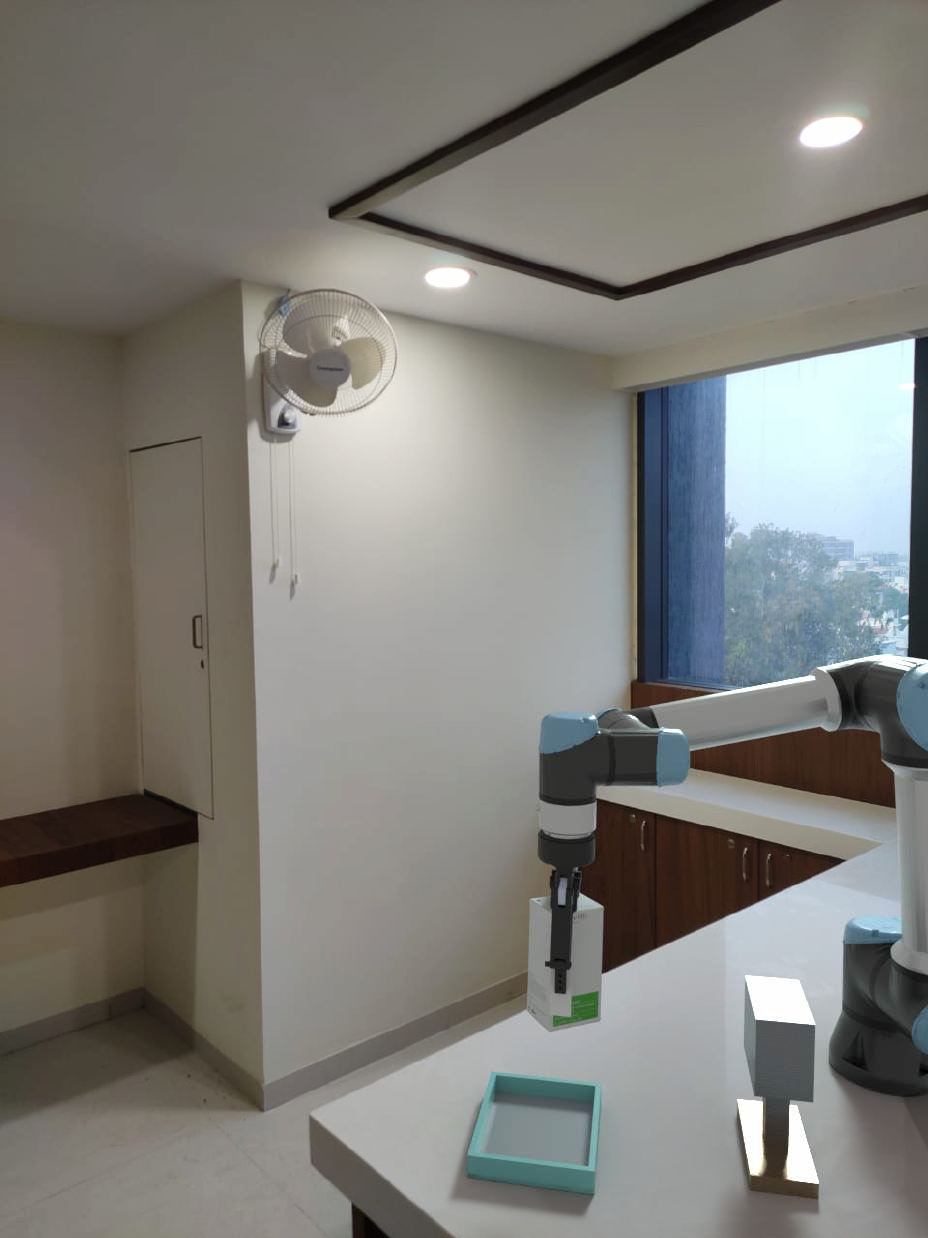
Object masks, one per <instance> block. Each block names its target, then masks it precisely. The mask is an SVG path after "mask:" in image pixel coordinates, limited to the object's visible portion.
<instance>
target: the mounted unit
mask: <svg viewBox="0 0 928 1238" xmlns="http://www.w3.org/2000/svg"><path fill="white" fill-rule="evenodd" d="M743 1014H744V1016H743V1021H744V1022H743V1048H744V1053H745V1057H746V1062H747V1066H748V1071H749V1076H750V1081H751V1086H752V1090H753V1091H752V1092H753V1096H754V1097H758V1098H762V1099H761V1100H762V1101H758V1100H747V1099H739V1098H738V1099H737V1102H736V1103H737V1105H736V1106H737V1107H736V1114H737V1120H738V1125H739V1132H740V1137H741V1143H742V1148H743V1155H744V1159H745V1167H746V1172H747V1173H746V1174H747V1177H748V1183H749V1189H750V1191H754V1192H761V1193H769V1194H775V1195H784V1196H792V1197H793V1196H794V1197H798V1198H799V1197H800V1198H808V1199H813V1200H814V1199H816V1200H819V1198H820V1197H819V1195H820V1191H819V1190H820V1189H819V1188H820V1184H819V1179H818V1176H817V1171H816V1168H815V1164H814V1161H813V1158H812V1154H811V1151H810V1147H809V1144H808V1141H807V1137H806V1133H805V1130H804V1125H803V1122H802V1120H801V1115H800V1113H799V1109H798V1106H797V1105H794V1104H791V1101H795V1102H805V1103H812V1104H813V1103H814V1093H815V1090H814V1089H815V1088H814V1087H815V1055H816V1054H815V1051H816V1050H815V1048H816V1047H815V1046H816V1023H815V1020H814V1018H813V1014H812V1012H811V1010H810V1007H809V1003H808V1001H807V999H806V997H805V993H804V990H803V988H802V985H801V982H800V979H791V978H781V977H780V978H779V977H767V976H756V975H744V1013H743Z"/></svg>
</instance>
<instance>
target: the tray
mask: <svg viewBox="0 0 928 1238" xmlns="http://www.w3.org/2000/svg"><path fill="white" fill-rule="evenodd" d="M601 1111H602V1083H601V1082H600V1083H599V1082H592V1081H583V1080H573V1079H564V1078H555V1077H554V1078H553V1077H546V1076H538V1075H527V1074H518V1073H510V1072H499V1071H491V1072H490V1076H489V1079H488V1083H487V1086H486V1089H485V1093H484V1097H483V1100H482V1103H481V1107H480V1111H479V1114H478V1116H477V1117H478V1118H477V1120H476V1123H475V1127H474V1131H473V1135H472V1138H471V1141H470V1144H469V1148H468V1151H467V1154H466V1174H467V1175H466V1176H467V1177H466V1178H467V1179H473V1180H474V1179H475V1180H481V1181H489V1182H498V1183H505V1184H512V1185H520V1186H526V1187H533V1188H540V1189H541V1188H542V1189H550V1190H555V1191H556V1190H557V1191H564V1192H571V1193H580V1194H586V1195H587V1194H588V1195H595V1190H596V1176H597V1166H598V1165H597V1164H598V1151H599V1150H598V1149H599V1138H600V1137H599V1136H600V1125H601V1114H602V1112H601Z"/></svg>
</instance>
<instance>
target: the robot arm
mask: <svg viewBox="0 0 928 1238" xmlns="http://www.w3.org/2000/svg"><path fill="white" fill-rule="evenodd" d="M819 727H820V728H821V729H823V730H825V731H827V732H830V733H831V732H837V731H841V730H852V729H853V730H864V731H870V732H875V733H877V734H879V737H880V753H881V754H880V755H881V762H883V763H884V764H885V765H886V766H887V767H888V768H889V769H891V771H893V774H894V795H895V797H894V798H895V818H896V821H895V822H896V835H897V836H896V838H897V842H896V843H897V859H898V881H899V901H900V902H899V903H900V907H899V908H900V917H898V916H890V915H874V914H873V915H860V916H857V917H853V918H851V919H849V920H848V921H846V924H845V926H844V932H843V939H842V944H843V950H842V951H843V953H842V954H843V955H842V956H843V957H842V992H841V993H842V994H841V996H842V997H841V998H842V1002H841V1003H842V1004H841V1012H840V1015H839V1016H838V1019H837V1021H836V1024H835V1026H834V1029H833V1031H832V1034H831V1037H830V1038H829V1043H828V1060H829V1063H830V1065H831V1066H832V1067H833V1070H835V1071H836V1072H837V1073H838V1074H839V1075H840V1076H842V1077H843V1078H845V1079H846V1080H848V1081H849V1082H851V1083H853V1084H855V1085H858V1086H859V1087H861V1088H865V1089H867V1090H870V1091H874V1092H876V1093H877V1092H878V1093H881V1094H885V1095H892V1096H917V1095H923V1094H925V1093H927V1092H928V659H923V658H916V657H910V656H905V655H901V654H895V653H894V654H893V653H891V654H888V653H887V654H876V655H872V656H865V657H862V658H857V659H852V660H847V661H842V662H839V663H833V664H830V665H823V666H818V667H813V669H811V670H810V672H809V674H808V675H807V676H803V677H797V678H792V679H786V680H782V681H777V682H771V683H766V684H765V683H764V684H760V685H755V686H750V687H749V686H748V687H744V688H739V689H734V690H729V691H728V690H727V691H724V692H723V691H722V692H718V693H717V692H716V693H712V694H707V695H706V694H705V695H702V696H696V697H695V696H694V697H691V698H685V699H681V700H676V701H675V700H674V701H668V702H665V703H659V704H655V705H654V704H653V705H649V706H644V707H638V708H632V709H627V710H626V709H622V708H616V707H608V708H604V709H602V710H599V711H598V712H596V714H595V715H594V714H592V713H588V712H583V711H572V710H571V711H555V712H554V711H553V712H550V713H548V714H545V716H543V717H542V719H541V722H540V732H539V733H540V734H539V745H538V767H539V768H538V771H539V772H538V803H534V805H533V809H534V811H536V812H539V814H538V827H539V828H540V830H539V831H538V833H537V857H538V859H539V860H540V861H541V862H543V863H544V864H545V865H551V866H553V868H552V869H551V875H549V888H550V896H551V901H550V907H551V909H552V921H551V946H550V961H545V967H550V1015H555V1016H565V1017H571V1001H572V962H571V947H572V926H573V913H575V912H576V911H577V902H578V898H579V894H580V893H581V884H582V871H580V870H579V871H578V869H579V868H582V867H587V866H588V865H590V864H592V863H593V862H594V861H595V859H596V834H595V833H594V831H595V830H596V829H597V802H598V801H597V790H598V787H658V788H661V787H668V786H669V787H670V786H679V785H682V784H683V783H685V781H686V780H687V778H688V776H689V774H690V770H691V769H690V768H691V752H692V751H697V750H702V749H708V748H713V747H717V746H719V747H720V746H723V745H728V744H729V745H730V744H734V743H740V742H744V741H750V740H755V739H760V738H766V737H770V736H771V737H772V736H776V735H777V736H778V735H782V734H787V733H793V732H799V731H803V730H810V729H814V728H819ZM554 868H555V869H554ZM572 903H573V904H572Z"/></svg>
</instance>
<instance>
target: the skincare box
mask: <svg viewBox="0 0 928 1238" xmlns="http://www.w3.org/2000/svg"><path fill="white" fill-rule="evenodd" d="M550 901H551V895H549V896H541V897H533V898H529V900H528V902H529V919H528V920H529V925H528V926H529V927H528V954H527V955H528V958H527V959H528V960H527V961H528V963H527V990H526V991H527V992H526V993H527V994H526V995H527V996H526V997H527V998H526V1011H527V1013H528V1014H529V1015H530V1016H531V1017H532V1018H534V1020H536V1022H538V1024H540V1025H541V1026H542V1027H543V1028H544V1029H545V1030H546V1031H547V1032H549V1033H552V1032H557V1031H562V1030H566V1029H571V1028H576V1027H579V1026H585V1025H589V1024H594V1023H595V1024H596V1023H599V1022H600V1021H601V1019H602V1018H601V1015H602V985H603V984H602V981H603V980H602V979H603V978H602V977H603V972H602V971H603V948H604V947H603V944H604V943H603V941H604V940H603V938H604V911H605V906H603V905H602V904H600V903H599V902H597V901H595V900H593V899H591V898H589V897H587V896H586V895H584V894H583V893H581V892H580V894H579V898H578V902H577V911H576V912H575V913H573V926H572V947H571V962H572V1001H571V1017H565V1016H555V1015H550V967H545V961H550V946H551V921H552V909H551V907H550ZM572 904H573V903H572Z"/></svg>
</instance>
